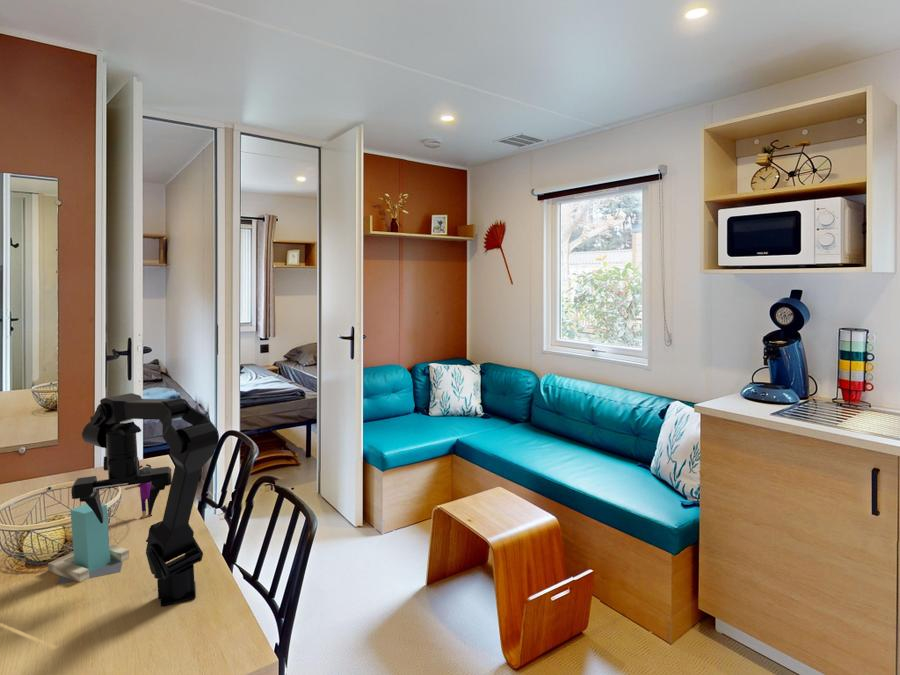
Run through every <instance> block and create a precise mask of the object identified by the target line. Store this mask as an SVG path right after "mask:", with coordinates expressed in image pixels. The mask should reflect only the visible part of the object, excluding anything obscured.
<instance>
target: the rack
mask: <svg viewBox="0 0 900 675" xmlns="http://www.w3.org/2000/svg"><path fill="white" fill-rule="evenodd" d="M109 546H110V558H111V559H115V560H118V561H121V562H122V561H125V560H127V559H128V560H129V559H130V549H128V548H126V547H125V548H124V547H121V546H118V545H114V544H111V543H109ZM122 563H123V562H122ZM47 565H48V566H47V567H48V572H49V573H52V574H54V575H57V576H63V577H66V578H69V579H72V580H75V581H74V582H78V583H82V582H84V581H86V580H89V579H90V578H89V569H87V568H83V567H80V566H77V565H74V551H72V552H70V553H68V554H66V555H63V556H61V557H59V558H56V559H54V560H52V561H50V562H48V563H47Z"/></svg>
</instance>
